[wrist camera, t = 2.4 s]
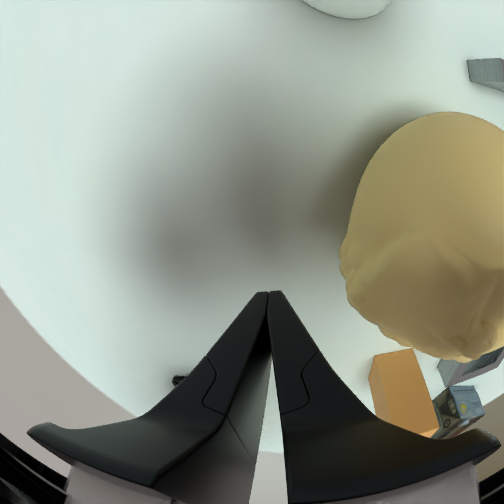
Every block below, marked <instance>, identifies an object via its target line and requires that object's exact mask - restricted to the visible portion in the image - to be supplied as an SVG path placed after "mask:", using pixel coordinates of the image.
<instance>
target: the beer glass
mask: <svg viewBox="0 0 504 504" xmlns="http://www.w3.org/2000/svg"><path fill="white" fill-rule="evenodd" d="M303 1H304V2H306V3H307V4H308V5H310V6H312V7H313V8H315V9H317V10H319V11H321V12H324V13H326V14H329V15H332V16H336V17H340V18H347V19H362V18H367V17H371V16H374V15H376V14H378V13H379V12H381V11H382V10H383V9H384V8H385V7H386V6H387V4H388V2H389V0H303Z"/></svg>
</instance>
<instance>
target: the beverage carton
mask: <svg viewBox="0 0 504 504" xmlns="http://www.w3.org/2000/svg"><path fill="white" fill-rule="evenodd" d="M432 404H433V407H434V410H435V413H436V417H437V420H438V424H439V427H440V428H439V429H438V430H437V431H436V432H435V433H434V434H433V435H432V436H431V437H430V438H433V439H448V438H452V437H455V436H457V435H458V434H460V433H461V432H462V431H463V430H465V429H466V428H468V427H469V426H470V425H472V424H473V423H475V422H476V421H477V420H479V419H480V418H481V417H483V416H484V414H485V411H484V409H483V406H482V404H481V401H480V398H479V396H478V393H477V392H476V390H475V388H474V386H449V387H448V388H447V389H446V390H445V391H443V392H442V393H441V394H440V395H439V396H438V397H436V398H435V399H434V400H433V401H432Z"/></svg>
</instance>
